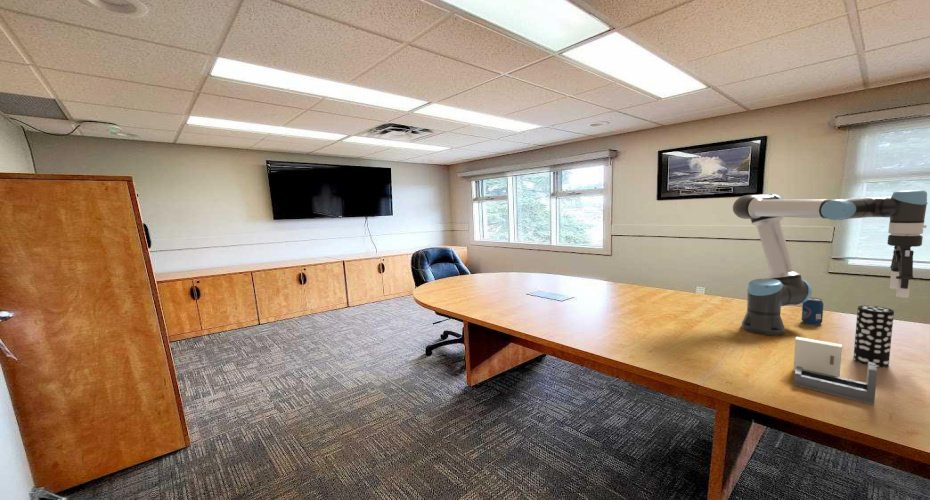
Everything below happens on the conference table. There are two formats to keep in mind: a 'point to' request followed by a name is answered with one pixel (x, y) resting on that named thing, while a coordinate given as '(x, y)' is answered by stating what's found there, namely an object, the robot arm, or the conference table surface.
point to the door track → (839, 384)
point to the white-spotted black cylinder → (873, 335)
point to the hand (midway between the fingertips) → (898, 292)
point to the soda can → (812, 311)
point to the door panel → (818, 356)
